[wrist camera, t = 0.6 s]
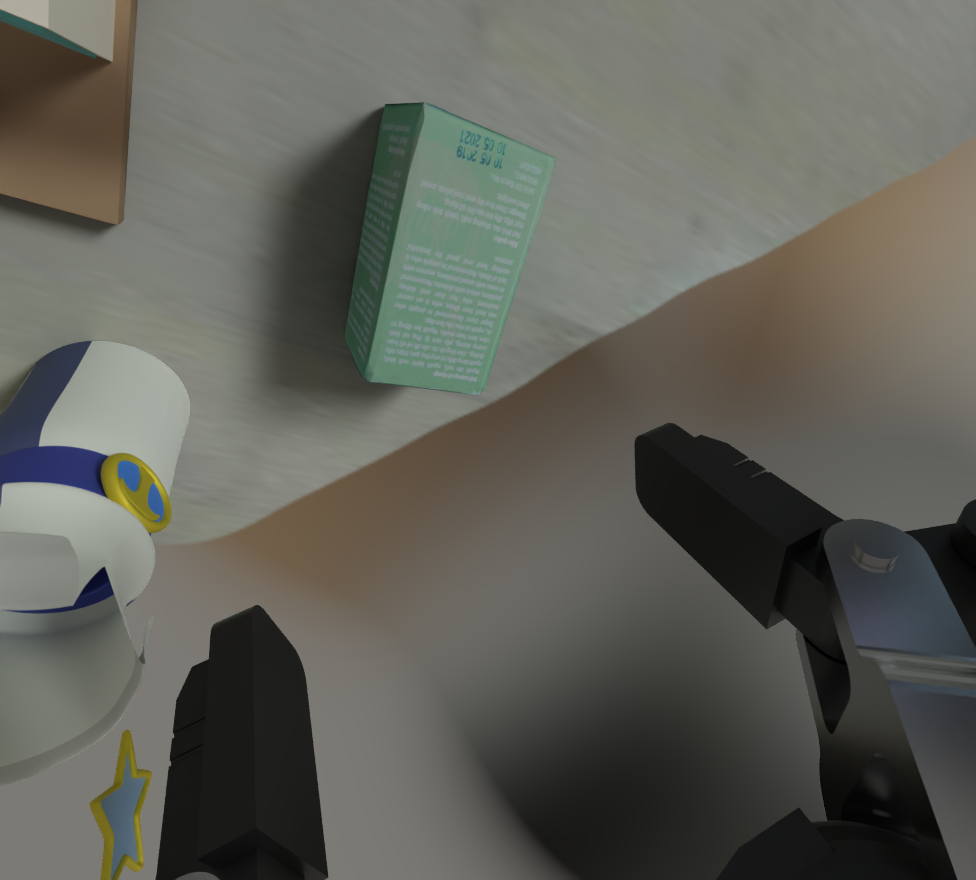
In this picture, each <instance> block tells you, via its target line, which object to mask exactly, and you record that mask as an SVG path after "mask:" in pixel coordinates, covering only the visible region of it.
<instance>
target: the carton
mask: <svg viewBox="0 0 976 880" xmlns="http://www.w3.org/2000/svg"><path fill="white" fill-rule="evenodd" d="M115 1H116V0H0V21H2V22H4V23H7V24H9V25H12V26H14V27H17V28H19V29H22V30H24V31H27V32H29V33H32V34H34V35H37V36H39V37H42V38H44V39H47V40H49V41H52V42H54V43H57V44H59V45H62V46H65V47H67V48H70V49H72V50H75V51H77V52H80V53H82V54H85V55H87V56H90V57H92V58H95V59H96V56H99V57H101V58H104V59H106V60H109V61H111V62H112V61H113V41H114V21H115Z"/></svg>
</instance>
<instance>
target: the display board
mask: <svg viewBox="0 0 976 880" xmlns="http://www.w3.org/2000/svg"><path fill="white" fill-rule="evenodd" d="M136 14H137V0H116V1H115V21H114V41H113V61H112V62H111V61H109V60H106V59H104V58H101V57H99V56H96V59H95V58H92V57H90V56H87V55H85V54H82V53H80V52H77V51H75V50H72V49H70V48H67V47H65V46H62V45H59V44H57V43H54V42H52V41H49V40H47V39H44V38H42V37H39V36H37V35H34V34H32V33H29V32H27V31H24V30H22V29H19V28H17V27H14V26H12V25H9V24H7V23H4V22H2V21H0V193H1V194H4V195H8V196H12V197H15V198H19V199H23V200H27V201H30V202H34V203H38V204H41V205H45V206H49V207H52V208H56V209H60V210H63V211H67V212H71V213H75V214H78V215H82V216H86V217H89V218H93V219H97V220H100V221H104V222H108V223H112V224H115V225H118V224H120V223H121V222H122V221H123V219H124V203H125V188H126V172H127V156H128V140H129V125H130V109H131V93H132V77H133V62H134V46H135V30H136Z"/></svg>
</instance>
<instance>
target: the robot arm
mask: <svg viewBox="0 0 976 880" xmlns="http://www.w3.org/2000/svg"><path fill="white" fill-rule="evenodd" d="M635 479H636V492H637V496H638V498H639V501H640V503H641V505H642V506H643V508H644V509H645V511H646V512H647V513H648V514H649V516H650V517H651V518H653V519H654V520H655V521H656V522H657V523H658V524H659V525H660V526H661V527H662V528H663V529H664V530H665V531H666V532H667V533H668V534H669V535H670V536H671V537H672V538H673V539H674V540H675V541H676V542H677V543H678V544H679V545H680V546H681V547H682V548H683V549H684V550H686V552H688V553H689V554H690V555H691V556H692V557H693V558H694V559H695V560H696V561H697V562H698V563H699V564H700V565H701V566H702V567H703V568H704V569H705V570H706V571H707V572H708V573H709V574H710V575H711V576H712V577H713V578H714V579H715V580H716V581H717V582H719V583H720V585H721V586H722V587H723V588H725V589H726V590H727V591H728V592H729V593H730V594H731V595H732V596H733V597H734V598H735V599H736V600H737V601H738V602H739V603H740V604H741V605H742V606H743V607H744V608H745V609H746V610H747V611H748V612H749V613H750V614H751V615H752V616H753V617H754V618H755V619H756V620H758V622H760V623H761V624H762V625H763V626H764V627H765V628H766V629H768V628H770V627H771V626H773V625H775V624H777V623H779V622H780V621H782V620H784V619H787V620H788V621H789V622H790V623H791V624H792V625H794V626H795V627H796V633H795V636H796V642H797V647H798V651H799V655H800V660H801V664H802V669H803V673H804V677H805V682H806V686H807V690H808V695H809V699H810V703H811V707H812V712H813V716H814V721H815V725H816V729H817V734H818V739H819V747H820V748H819V749H820V759H819V777H820V787H821V794H822V799H823V804H824V809H825V813H826V818H827V821H815V822H810V820H809V819H808V818H807V817H806V816H805V815H804V813H803V812H802V811H801V809H800V808H797V809H796V810H794V811H793V812H791V813H790V814H788V815H787V816H785V817H784V818H782V819H781V820H779V821H778V822H776V823H775V824H774V825H772V826H771V827H769V828H768V829H766V830H765V831H763V832H762V833H760V834H759V835H757V836H756V837H754V838H753V839H751V840H750V841H748V842H747V843H745V844H744V845H742V846H741V847H740V848H738V850H737V851H736V853H735V854H734V855H733V857H732V858H731V860H730V861H729V862H728V864H727V865H726V867H725V868H724V870H723V871H722V872H721V874H720V875H719V877H718V878H717V880H976V500H973V501H971V502H969V503H968V504H967V505H966V506H965V507H964V509H963V511H962V513H961V515H960V516H959V518H958V521H957V522H956V523H954V524H949V525H943V526H936V527H930V528H925V529H919V530H912V531H905V532H903V531H901V530H900V529H897V528H896V527H893V526H891V525H888V524H884V523H881V522H878V521H873V520H865V519H852V520H845V521H844V520H842V519H841V518H839V517H837V516H836V515H834V514H832V513H831V512H829V511H828V510H826V509H825V508H823V507H822V506H820V505H819V504H817V503H816V502H814V501H813V500H811V499H810V498H808V497H807V496H805V495H804V494H802V493H801V492H799V491H798V490H796V489H795V488H793V487H792V486H790V485H789V484H787V483H786V482H784V481H783V480H781V479H780V478H778V477H777V476H775V475H774V474H772V473H771V472H769V473H768V472H766V469H765V468H763V467H762V466H760V465H759V464H757V463H756V462H754V461H753V460H752V461H750V460H749V459H748V457H747V456H745V455H744V454H742V453H741V452H739V451H738V450H736V449H735V448H733V447H732V446H730V445H729V444H727V443H725V442H722V441H718V440H716V439H712V438H709V437H706V436H703V435H699V436H697V437H695V438H694V437H693V436H692V435H690V434H689V433H687V432H686V431H684V430H683V429H682V428H680V427H679V426H677V425H675V424H673V423H667V424H664V425H662V426H660V427H657V428H655V429H653V430H651V431H649V432H646V433H644V434H642V435H639V436H638V437H637V438H636V440H635ZM173 733H174V738H173V739H172V744H171V752H170V761H171V766H170V767H169V770H168V779H167V787H166V796H165V805H164V814H163V822H162V831H161V840H160V849H159V858H158V866H157V875H156V880H325V879H326V878H328V870H327V861H326V852H325V843H324V835H323V825H322V817H321V808H320V799H319V790H318V781H317V772H316V764H315V755H314V746H313V737H312V728H311V720H310V710H309V702H308V693H307V684H306V677H305V672H304V669H303V665H302V663H301V660H300V658H299V655H298V653H297V652H296V650H295V648H294V647H293V646H292V644H291V643H290V642H289V641H288V639H287V638H286V637H285V636H284V634H283V633H282V632H281V631H280V629H279V628H278V627H277V625H276V624H275V623H274V622H273V621H272V619H271V618H270V617H269V615H268V614H267V613H266V612H265V610H264V609H263V608H262V607H261V606H259V605H255V606H253V607H251V608H249V609H246V610H244V611H242V612H240V613H237V614H235V615H233V616H231V617H228V618H226V619H224V620H222V621H219V622H217V623H215V624H214V625H213V627H212V629H211V635H210V651H209V659H208V660H206V661H204V662H202V663H199V664H197V665H195V666H193V667H192V668H191V670H190V672H189V674H188V677H187V679H186V681H185V683H184V685H183V687H182V689H181V691H180V694H179V696H178V698H177V700H176V709H175V718H174V727H173Z"/></svg>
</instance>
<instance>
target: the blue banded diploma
mask: <svg viewBox="0 0 976 880" xmlns="http://www.w3.org/2000/svg"><path fill="white" fill-rule="evenodd" d="M189 418H190V401H189V397H188V394H187V391H186V389H185V387H184V385H183V383H182V382H181V380H180V378H179V377H178V376H177V375H176V374H175V373H174V372H173V371H172V370H171V369H170V368H169V367H168V366H167V365H166V364H165V363H163V362H162V361H160V360H159V359H157V358H156V357H154V356H153V355H151V354H149V353H147V352H145V351H143V350H140V349H138V348H135V347H132V346H129V345H125V344H121V343H115V342H108V341H86V342H78V343H73V344H69V345H66V346H63V347H60V348H58V349H56V350H54V351H52V352H50V353H49V354H47V355H46V356H44V357H43V358H42V359H40V360H39V361H38V362H37V363H36V364H35V366H34V367H33V368H32V369H31V371H30V373H29V374H28V376H27V377H26V379H25V381H24V382H23V384H22V385H21V387H20V389H19V390H18V392H17V393H16V395H15V396H14V398H13V399H12V401H11V402H10V404H9V405H8V406H7V408H6V409H5V411H4V412H3V413H2V415H1V416H0V786H4V785H7V784H10V783H13V782H16V781H19V780H22V779H25V778H28V777H30V776H33V775H35V774H38V773H40V772H43V771H45V770H47V769H50V768H52V767H54V766H56V765H58V764H60V763H62V762H64V761H66V760H68V759H70V758H72V757H74V756H76V755H77V754H79V753H81V752H83V751H84V750H86V749H87V748H89V747H90V746H92V745H93V744H95V743H96V742H97V741H99V740H100V739H101V738H103V737H104V736H105V735H106V734H107V733H109V732H110V731H111V730H112V729H113V728H114V727H115V726H116V725H117V723H118V722H119V721H120V719H121V718H122V717H123V716H124V714H125V713H126V711H127V709H128V707H129V705H130V703H131V701H132V700H133V698H134V696H135V694H136V693H137V691H138V689H139V687H140V685H141V682H142V679H143V676H144V672H145V657H144V650H145V648H146V646H147V644H148V641H149V638H150V634H151V630H152V626H153V621H154V615H153V616H152V617H151V619H150V620H149V622H148V624H147V626H146V629H145V635H144V646H143V652H142V654H141V655H140V657H139V658H138V656H137V654H136V652H135V649H134V647H133V643H132V640H131V637H130V634H129V631H128V627H127V623H126V619H125V615H124V608H125V607H126V606H128V605H129V604H130V603H131V602H132V601H133V600H134V599H136V598H137V597H138V596H139V595H140V594H141V592H142V591H143V590H144V588H145V587H146V585H147V584H148V582H149V580H150V578H151V576H152V573H153V569H154V565H155V549H154V545H153V542H152V539H151V537H150V536H151V533H155V532H158V531H161V530H163V529H164V528H165V527H166V526H167V525H168V524H169V522H170V519H171V505H170V501H169V494H170V490H171V486H172V482H173V477H174V472H175V468H176V463H177V459H178V455H179V451H180V448H181V444H182V441H183V438H184V435H185V432H186V428H187V425H188V422H189ZM151 776H152V772H151V771H148V770H143V769H137V765H136V759H135V753H134V747H133V742H132V737H131V733H130V731H129V730H126V731H124V732H123V734H122V738H121V744H120V750H119V756H118V762H117V768H116V773H115V780H114V784H113V786H112V787H110V788H109V789H108V790H106V791H105V792H103V793H102V794H101V795H99V796H98V797H97V798H95V799H94V800H93V801H92V802H91V803H90V808H91V810H92V813H93V815H94V817H95V820H96V822H97V824H98V826H99V828H100V831H101V833H102V835H103V838H104V854H103V862H102V871H101V880H118V878H119V876H120V874H121V872H122V869H123V867H124V865H126V866H127V867H128V868H129V869H131V870H132V871H135V872H137V871H140V870H141V869H142V868H143V849H142V837H141V826H140V812H141V809H142V806H143V803H144V800H145V797H146V794H147V790H148V787H149V784H150V780H151Z"/></svg>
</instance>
